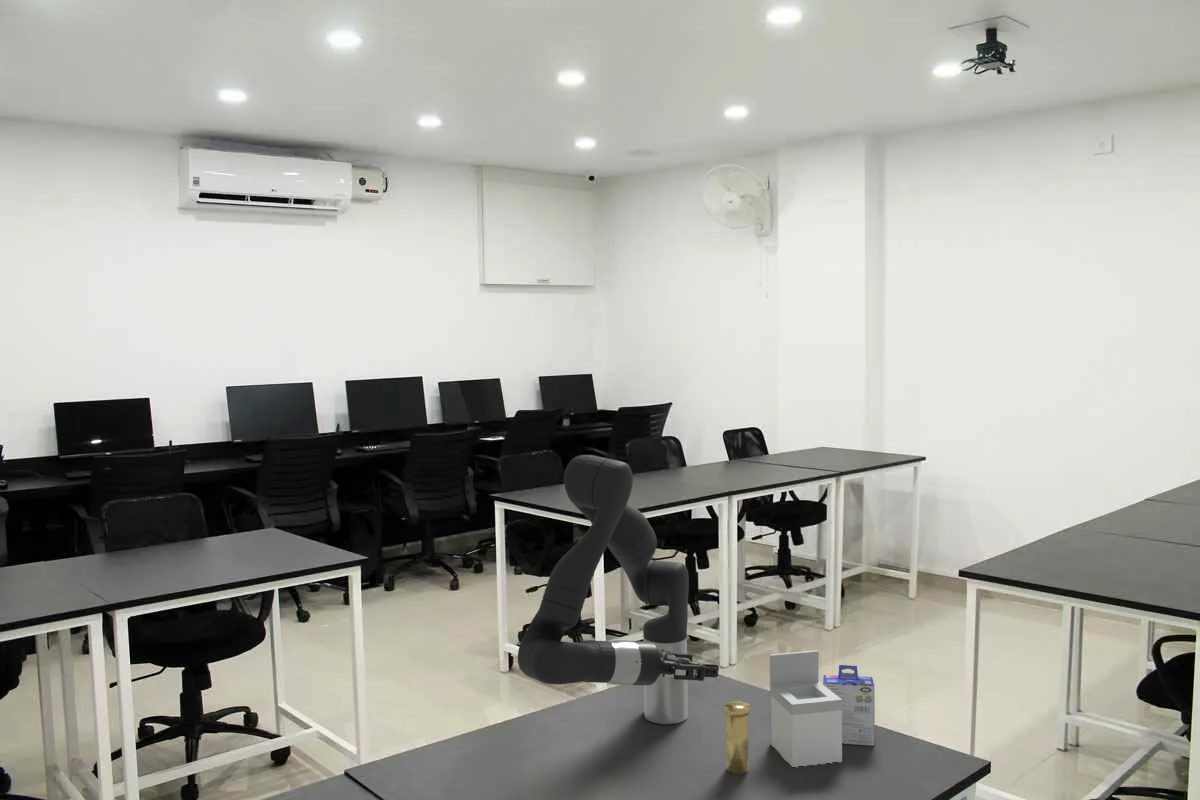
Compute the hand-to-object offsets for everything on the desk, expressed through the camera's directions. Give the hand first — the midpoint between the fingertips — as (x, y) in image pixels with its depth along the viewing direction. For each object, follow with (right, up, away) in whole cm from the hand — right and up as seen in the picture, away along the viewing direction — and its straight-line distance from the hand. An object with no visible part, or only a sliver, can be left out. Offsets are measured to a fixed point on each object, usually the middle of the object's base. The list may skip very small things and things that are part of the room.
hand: (703, 665), depth 171 cm
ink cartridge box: (+30, -19, +14) cm, 38 cm away
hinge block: (+21, -19, +8) cm, 29 cm away
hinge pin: (+6, -20, +2) cm, 21 cm away
